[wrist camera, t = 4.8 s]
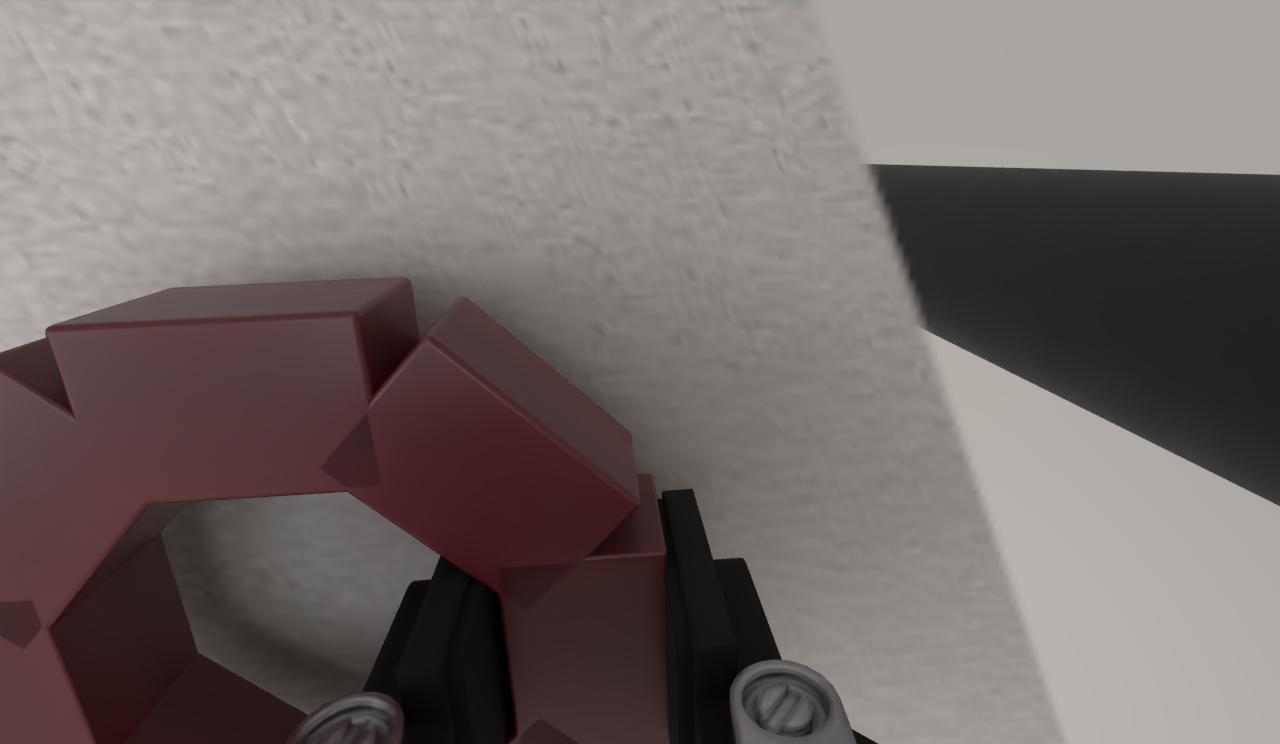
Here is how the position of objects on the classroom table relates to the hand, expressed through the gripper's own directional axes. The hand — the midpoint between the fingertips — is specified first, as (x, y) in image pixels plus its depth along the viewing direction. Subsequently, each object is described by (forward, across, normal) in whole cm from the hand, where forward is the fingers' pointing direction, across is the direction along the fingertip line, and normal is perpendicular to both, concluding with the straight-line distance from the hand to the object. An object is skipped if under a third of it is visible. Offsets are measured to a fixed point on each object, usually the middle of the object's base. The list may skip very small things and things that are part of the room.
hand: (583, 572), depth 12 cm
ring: (0, +4, 0) cm, 4 cm away
